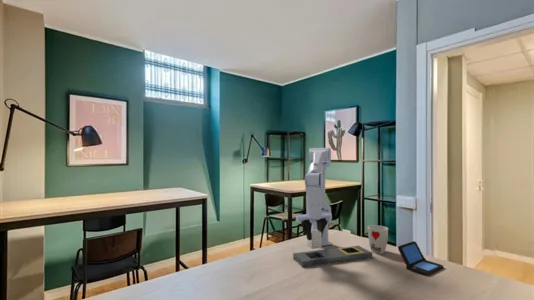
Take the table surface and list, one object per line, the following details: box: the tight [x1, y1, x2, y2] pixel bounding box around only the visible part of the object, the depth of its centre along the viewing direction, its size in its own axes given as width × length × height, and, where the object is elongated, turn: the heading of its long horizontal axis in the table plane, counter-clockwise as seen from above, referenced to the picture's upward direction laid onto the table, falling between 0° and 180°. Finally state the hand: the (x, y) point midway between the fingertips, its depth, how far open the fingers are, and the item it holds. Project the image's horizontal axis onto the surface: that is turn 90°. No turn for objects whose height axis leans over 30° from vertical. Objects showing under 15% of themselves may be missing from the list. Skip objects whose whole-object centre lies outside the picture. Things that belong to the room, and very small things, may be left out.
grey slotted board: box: [292, 245, 373, 268], centre depth 111 cm, size 9×30×2 cm, turn 107°
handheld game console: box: [397, 241, 444, 277], centre depth 102 cm, size 12×11×7 cm
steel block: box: [306, 229, 323, 250], centre depth 109 cm, size 4×4×6 cm
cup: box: [367, 224, 389, 254], centre depth 118 cm, size 8×8×10 cm
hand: (314, 238), depth 109 cm, fingers closed on steel block, 4 cm apart
